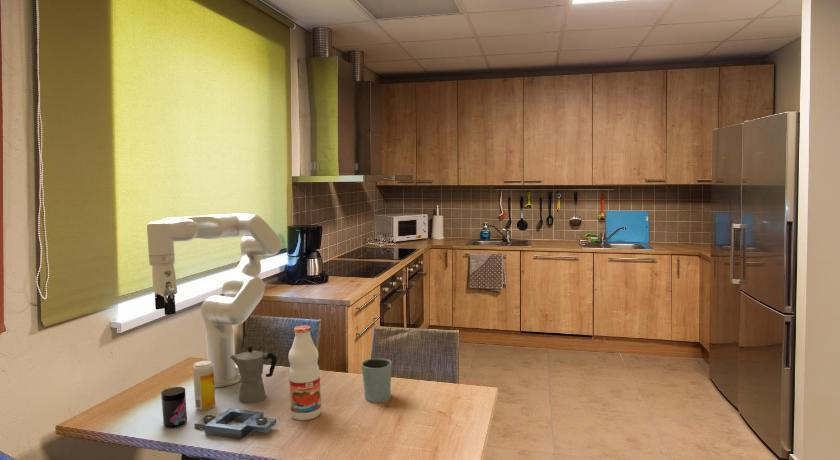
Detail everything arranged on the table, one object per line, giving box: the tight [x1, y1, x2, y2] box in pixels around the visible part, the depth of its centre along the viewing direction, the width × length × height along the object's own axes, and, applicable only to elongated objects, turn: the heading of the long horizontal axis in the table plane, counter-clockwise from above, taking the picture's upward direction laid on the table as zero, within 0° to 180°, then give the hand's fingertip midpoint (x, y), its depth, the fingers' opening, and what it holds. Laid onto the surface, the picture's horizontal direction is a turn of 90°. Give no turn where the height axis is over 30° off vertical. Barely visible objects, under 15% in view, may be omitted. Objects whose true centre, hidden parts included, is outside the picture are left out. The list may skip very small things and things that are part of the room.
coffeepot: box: [230, 345, 278, 405], centre depth 190 cm, size 15×9×18 cm, turn 92°
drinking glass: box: [361, 357, 393, 404], centre depth 190 cm, size 10×10×12 cm
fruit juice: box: [288, 324, 322, 421], centre depth 177 cm, size 9×9×28 cm
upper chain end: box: [204, 407, 277, 435], centre depth 168 cm, size 18×12×2 cm, turn 74°
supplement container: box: [160, 386, 188, 429], centre depth 173 cm, size 7×7×10 cm
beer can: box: [192, 359, 216, 412], centre depth 184 cm, size 6×6×15 cm
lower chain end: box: [193, 414, 253, 441], centre depth 170 cm, size 18×12×2 cm, turn 74°
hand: (165, 311), depth 185 cm, fingers open, 9 cm apart
